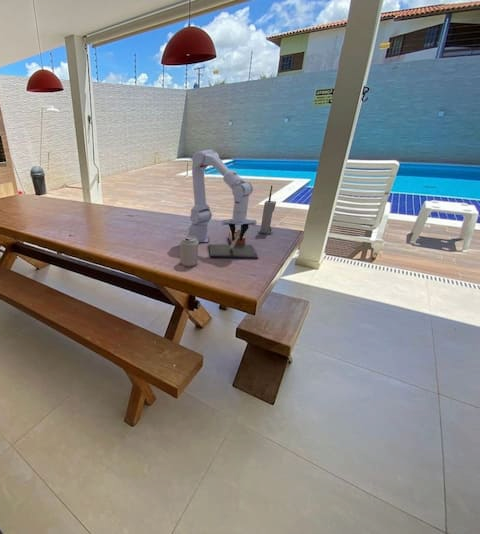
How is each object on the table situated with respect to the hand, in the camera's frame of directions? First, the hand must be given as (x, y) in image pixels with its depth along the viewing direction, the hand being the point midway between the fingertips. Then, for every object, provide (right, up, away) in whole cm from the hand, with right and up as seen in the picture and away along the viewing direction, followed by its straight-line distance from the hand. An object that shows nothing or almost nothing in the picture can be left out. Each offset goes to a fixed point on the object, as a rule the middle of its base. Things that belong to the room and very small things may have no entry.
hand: (236, 239), depth 141 cm
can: (-23, -11, -5) cm, 27 cm away
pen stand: (+5, 0, +15) cm, 15 cm away
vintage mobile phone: (+25, +6, +24) cm, 35 cm away
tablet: (-1, -6, +3) cm, 6 cm away
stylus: (-2, -4, +3) cm, 5 cm away
